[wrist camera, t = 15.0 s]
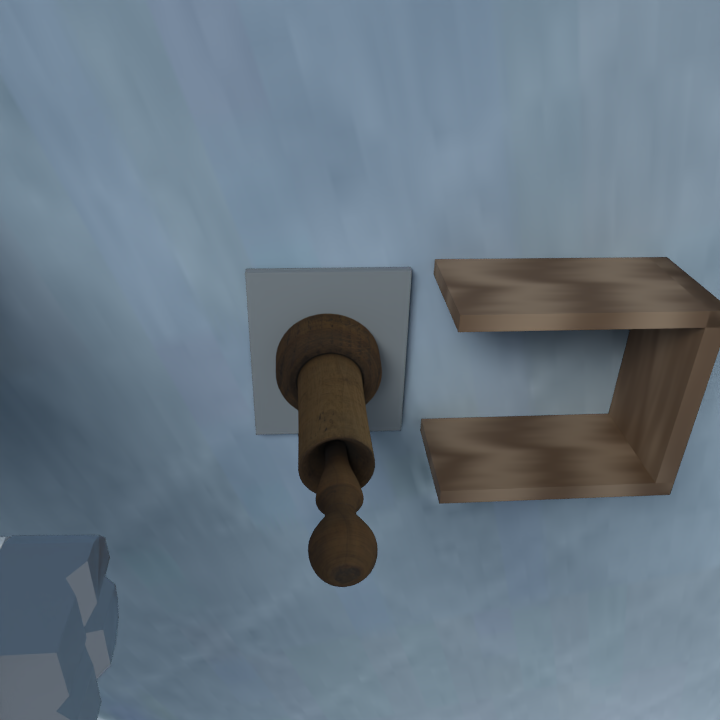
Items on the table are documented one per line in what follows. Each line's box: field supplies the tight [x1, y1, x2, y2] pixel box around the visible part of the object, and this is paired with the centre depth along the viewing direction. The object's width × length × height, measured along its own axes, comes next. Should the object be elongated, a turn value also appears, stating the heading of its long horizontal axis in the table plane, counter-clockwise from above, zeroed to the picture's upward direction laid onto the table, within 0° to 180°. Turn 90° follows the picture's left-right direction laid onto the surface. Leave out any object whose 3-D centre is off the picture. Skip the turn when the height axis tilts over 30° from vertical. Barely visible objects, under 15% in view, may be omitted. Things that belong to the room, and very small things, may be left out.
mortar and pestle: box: [276, 314, 382, 587], centre depth 36 cm, size 7×6×18 cm
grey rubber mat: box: [245, 267, 412, 435], centre depth 44 cm, size 10×12×1 cm
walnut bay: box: [420, 257, 720, 504], centre depth 43 cm, size 15×13×8 cm
